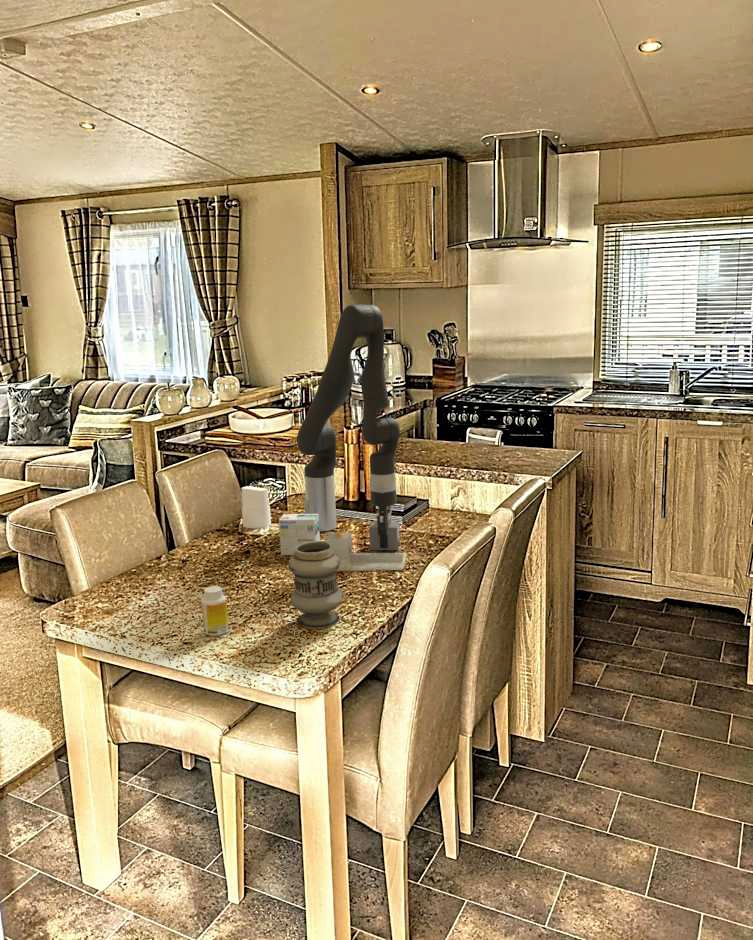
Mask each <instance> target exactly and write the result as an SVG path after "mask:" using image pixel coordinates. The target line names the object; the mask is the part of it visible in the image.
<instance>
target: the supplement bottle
mask: <svg viewBox="0 0 753 940" xmlns="http://www.w3.org/2000/svg"><path fill="white" fill-rule="evenodd" d="M203 595H204V596H203V597H202V598H201V600H200V602H201V603H200V604H201V605H200V606H201V615H202V625H203V632H204V634H205V635H206V636H210V637H217V636H218V637H219V636H223V635H224V634H226V633H228V632H229V629H230V627H229V615H228V613H229V612H228V603H227V596H226V595H225V594H223V588H222V587H221V586H218V585H213V586H207V587H205V588H204V590H203Z"/></svg>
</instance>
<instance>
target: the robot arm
mask: <svg viewBox="0 0 753 940" xmlns="http://www.w3.org/2000/svg"><path fill="white" fill-rule="evenodd" d="M384 334H385V333H384V319H383V314H382V311H381V310H380V309H379V307H378V306H376V305H373V304H349V305H347V306H345V308H344V309H343V311H342V312H341V315H340V318H339V320H338V324H337V328H336V332H335V336H334V340H333V344H332V347H331V350H330V353H329V356H328V359H327V362H326V365H325V367H324V370H323V372H322V375H321V378H320V380H319V383H318V386H317V389H316V392H315V394H314V397H313V399H312V402H311V404H310V406H309V409H308V412H307V413H306V416H305V418H304V420H302V423H301V426H300V427H299V429H298V432H297V436H296V445H297V448H298V451H299V453H301V454H303V455H304V456H313V455H314V456H313V457H312V459H310V461H309V462H308V463H307V464H306V465H305V466H304V468H303V471H304V473H303V475H304V488H305V489H304V490H305V500H304V501H303V503H304V514H318V517H319V532H329V531H333V530H335V529H336V528H337V511H336V510H337V509H336V489H335V485H336V484H335V468H336V465H337V464H336V463H337V437H336V433H335V429H334V428H333V426H332V425H331V424H329V423H328V420H329V419H330V418H331V416H333V414H334V413H336V411H337V410H338V409H339V408H340V407H341V406H342V405H343V404H344V403H345V401H346V400H347V398H348V396H349V394H350V393H351V392H350V391H351V388H352V386H353V384H354V380H355V371H354V365H353V362H352V352H353V348H354V345H355V342H356V341H357V339H362V338H363V339H364V338H365V341H366V345H367V355H366V360H365V364H364V366H363V367H364V368H363V370H362V373H361V379H360V388H361V395H362V399H363V417H362V418H363V419H362V427H361V434H362V437H363V440H364V441H365V443H366V444H368V445H370V446H376V445H382V446H381V448H380V449H378V450H377V451H374V452H371V454H370V456H369V492H370V493H369V499H370V504H371V506H373V507H378V508H377V511H376V522H377V526H378V535H380V548H387V547H388V538H387V535H388V527H389V522H392V508H391V507H392V506H394V505H396V504H397V502H398V500H397V477H396V471H395V469H396V468H395V464H396V463H395V457H396V452H397V447H398V444H399V440H400V434H401V432H400V429H401V428H400V425H399V423H398V421H397V420H396V419H395V418H393V417H383V418H377V417H378V413H379V412H381V411H383V410H386V409H388V407H389V404H390V403H389V395H388V389H387V382H386V375H385V362H384V361H385V358H384V357H385V353H384V352H385V345H384V343H385V342H384V340H385V339H384V338H385V335H384ZM386 523H387V524H386ZM381 528H385V531H381Z"/></svg>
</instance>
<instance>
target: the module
mask: <svg viewBox="0 0 753 940" xmlns="http://www.w3.org/2000/svg"><path fill="white" fill-rule="evenodd" d="M386 524H387V523H386ZM368 530H369V531H368V532H369V551H370V550H398V551H399V546H400V545H401V544H400V543H401V542H400V522H399V521H391V522H389V527H388V535H387V538H388V547H387V548H380V535H378V526H377V521H371V523H370V524H369V529H368ZM381 531H385V528H381ZM399 544H400V545H399ZM398 545H399V546H398Z"/></svg>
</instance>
